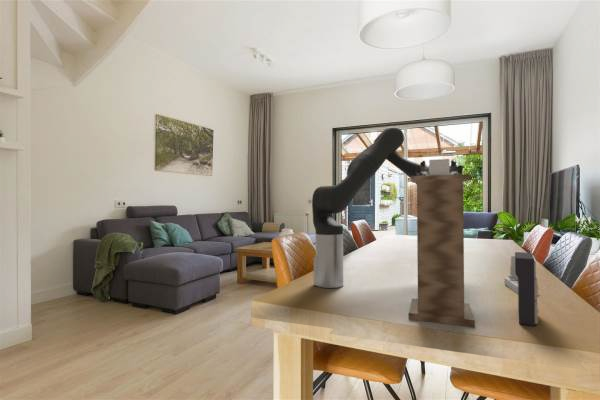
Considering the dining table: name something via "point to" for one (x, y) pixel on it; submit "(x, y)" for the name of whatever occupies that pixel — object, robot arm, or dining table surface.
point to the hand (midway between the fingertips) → (437, 162)
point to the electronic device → (512, 277)
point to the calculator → (527, 288)
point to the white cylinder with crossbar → (439, 167)
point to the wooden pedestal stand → (440, 251)
